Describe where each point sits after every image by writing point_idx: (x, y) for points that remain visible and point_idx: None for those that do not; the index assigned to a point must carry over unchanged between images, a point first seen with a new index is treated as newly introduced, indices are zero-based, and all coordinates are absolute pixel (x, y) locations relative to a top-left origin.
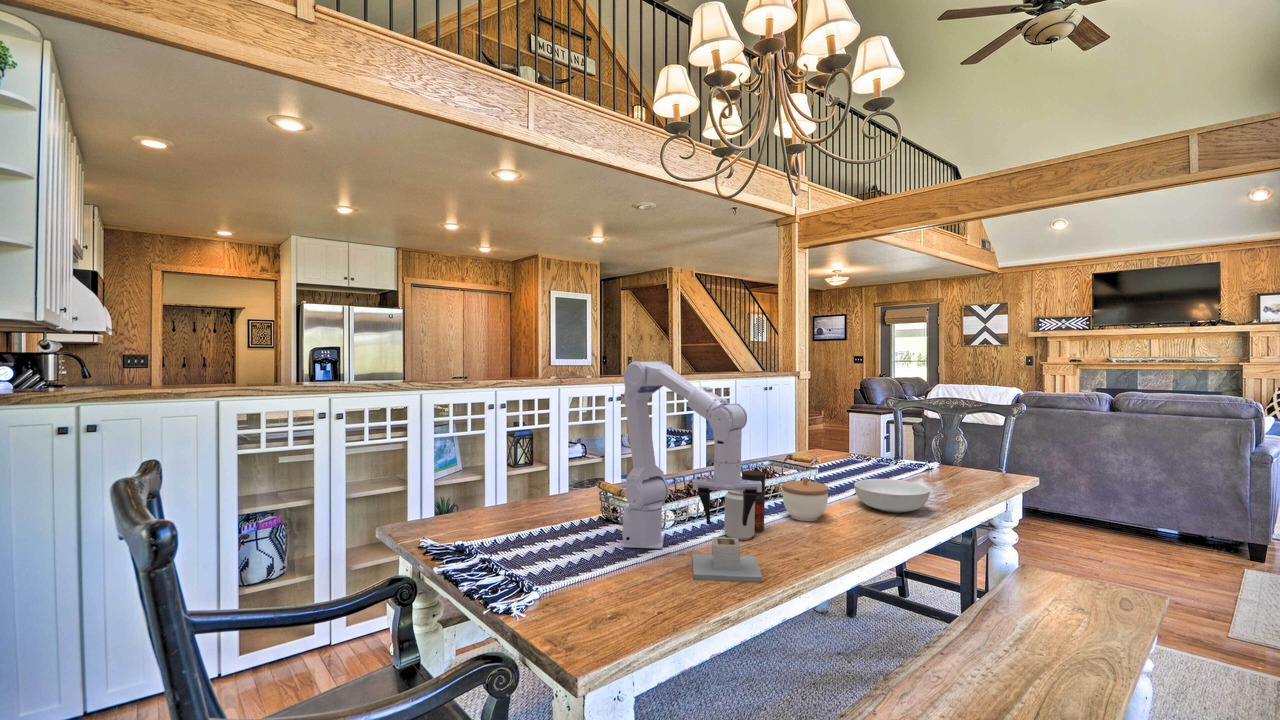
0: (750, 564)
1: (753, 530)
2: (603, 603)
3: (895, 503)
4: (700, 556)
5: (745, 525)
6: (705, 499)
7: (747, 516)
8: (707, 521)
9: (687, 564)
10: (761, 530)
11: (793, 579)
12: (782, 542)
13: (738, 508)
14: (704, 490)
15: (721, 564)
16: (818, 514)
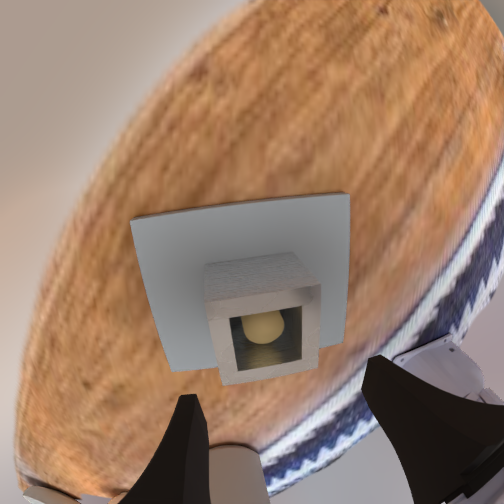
0: (176, 317)
1: None
2: (465, 65)
3: (44, 494)
4: (324, 334)
5: (184, 396)
6: (483, 419)
7: (169, 432)
8: (388, 360)
9: (353, 295)
10: None
11: (61, 262)
12: (139, 446)
13: (237, 501)
14: (488, 469)
15: (269, 261)
16: (114, 498)
